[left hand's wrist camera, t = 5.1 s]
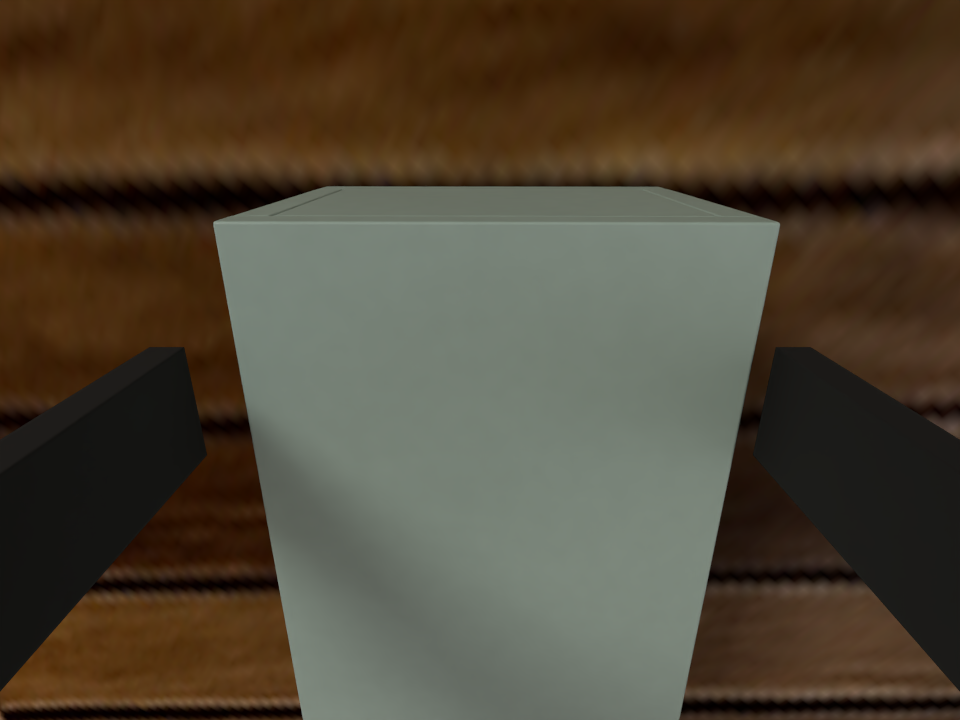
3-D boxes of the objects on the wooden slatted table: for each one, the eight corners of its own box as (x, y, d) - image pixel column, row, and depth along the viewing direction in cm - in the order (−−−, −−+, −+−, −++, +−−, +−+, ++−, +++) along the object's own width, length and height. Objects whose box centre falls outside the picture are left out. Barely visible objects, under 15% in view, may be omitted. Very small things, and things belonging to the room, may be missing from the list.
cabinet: (610, 600, 25) (663, 799, 17) (367, 598, 25) (315, 795, 17) (660, 186, 18) (781, 222, 10) (324, 186, 18) (211, 221, 11)
